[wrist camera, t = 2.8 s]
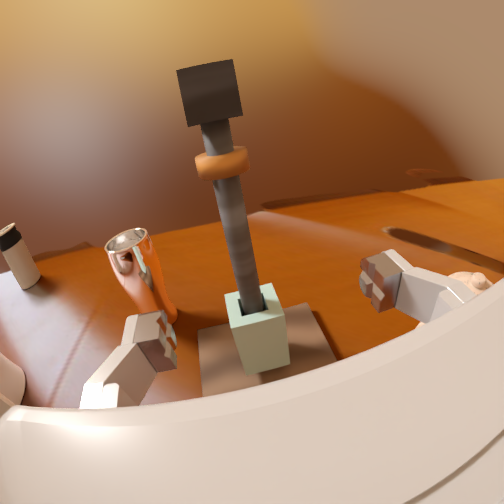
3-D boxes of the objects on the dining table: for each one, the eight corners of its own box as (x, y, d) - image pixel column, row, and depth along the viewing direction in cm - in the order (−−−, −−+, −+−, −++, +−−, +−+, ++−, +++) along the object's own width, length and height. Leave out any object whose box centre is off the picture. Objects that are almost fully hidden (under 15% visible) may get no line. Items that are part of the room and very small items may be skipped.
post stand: (351, 399, 26) (372, 38, 10) (211, 437, 25) (41, 102, 8) (307, 309, 40) (281, 68, 23) (200, 336, 38) (122, 101, 22)
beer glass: (173, 298, 47) (144, 222, 39) (186, 322, 42) (152, 238, 34) (138, 314, 44) (102, 240, 37) (146, 340, 39) (103, 259, 31)
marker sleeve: (290, 364, 29) (284, 314, 25) (246, 375, 28) (230, 328, 24) (278, 333, 33) (271, 282, 29) (239, 343, 33) (224, 294, 29)
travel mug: (34, 287, 59) (5, 231, 49) (18, 292, 58) (-10, 239, 49) (44, 272, 65) (19, 219, 56) (28, 277, 65) (4, 227, 55)
